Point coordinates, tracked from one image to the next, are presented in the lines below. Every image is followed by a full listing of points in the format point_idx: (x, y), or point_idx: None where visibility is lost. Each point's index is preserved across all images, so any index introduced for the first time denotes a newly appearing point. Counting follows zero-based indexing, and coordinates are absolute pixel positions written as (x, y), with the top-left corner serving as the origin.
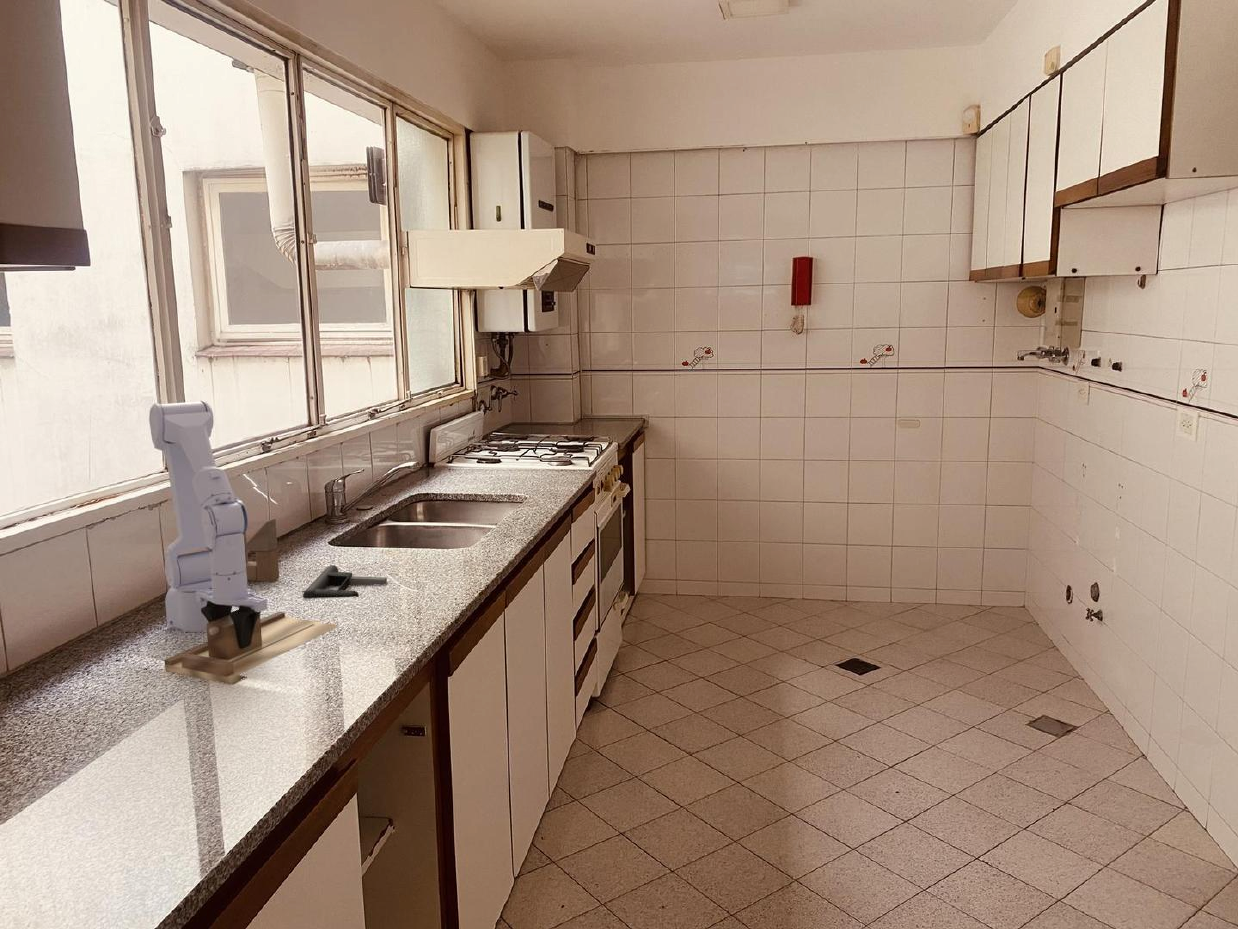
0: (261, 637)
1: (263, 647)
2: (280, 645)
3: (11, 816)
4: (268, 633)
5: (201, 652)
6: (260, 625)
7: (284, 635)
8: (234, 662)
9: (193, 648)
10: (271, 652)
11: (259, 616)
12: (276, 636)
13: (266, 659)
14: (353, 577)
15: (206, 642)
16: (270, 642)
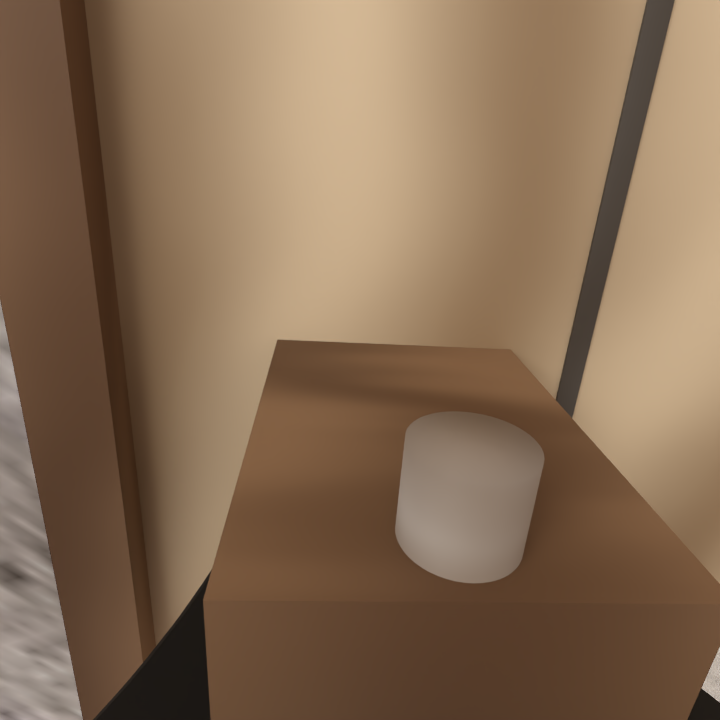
0: (538, 383)
1: (565, 400)
2: (691, 305)
3: None
4: (359, 34)
5: (152, 619)
6: (603, 460)
7: (588, 27)
8: None
9: (90, 671)
10: (687, 454)
11: (690, 571)
12: (513, 93)
13: (715, 561)
14: None
15: (59, 560)
16: (551, 271)
